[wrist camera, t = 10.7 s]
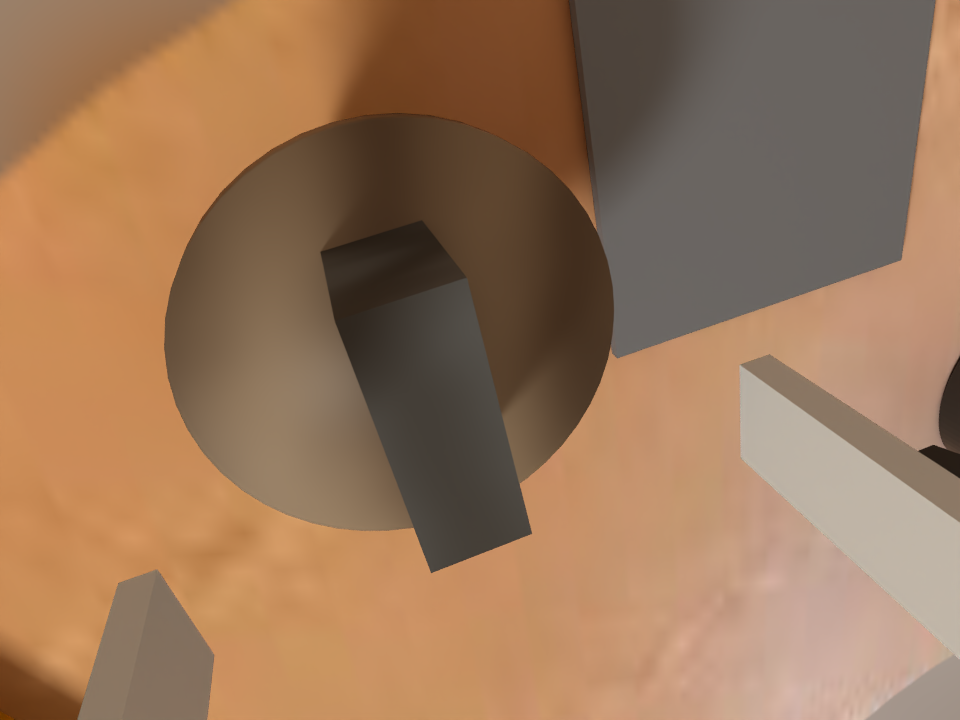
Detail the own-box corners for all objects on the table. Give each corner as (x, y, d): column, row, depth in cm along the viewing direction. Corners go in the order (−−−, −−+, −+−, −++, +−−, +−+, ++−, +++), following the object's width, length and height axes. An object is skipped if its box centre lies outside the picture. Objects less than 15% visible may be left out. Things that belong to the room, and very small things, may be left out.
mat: (939, -118, 28) (951, -120, 28) (892, 256, 37) (901, 259, 37) (565, -24, 26) (571, -25, 25) (612, 353, 35) (617, 358, 34)
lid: (566, 56, 19) (682, 65, 13) (619, 432, 26) (709, 537, 20) (73, 195, 17) (-21, 272, 11) (276, 560, 24) (277, 713, 18)
